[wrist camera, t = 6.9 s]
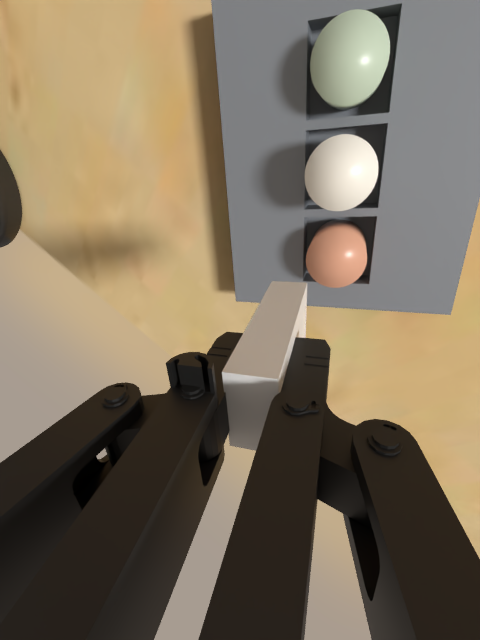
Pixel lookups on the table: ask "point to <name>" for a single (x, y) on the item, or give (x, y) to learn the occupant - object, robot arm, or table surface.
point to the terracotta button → (337, 254)
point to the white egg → (341, 172)
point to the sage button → (350, 59)
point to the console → (365, 122)
